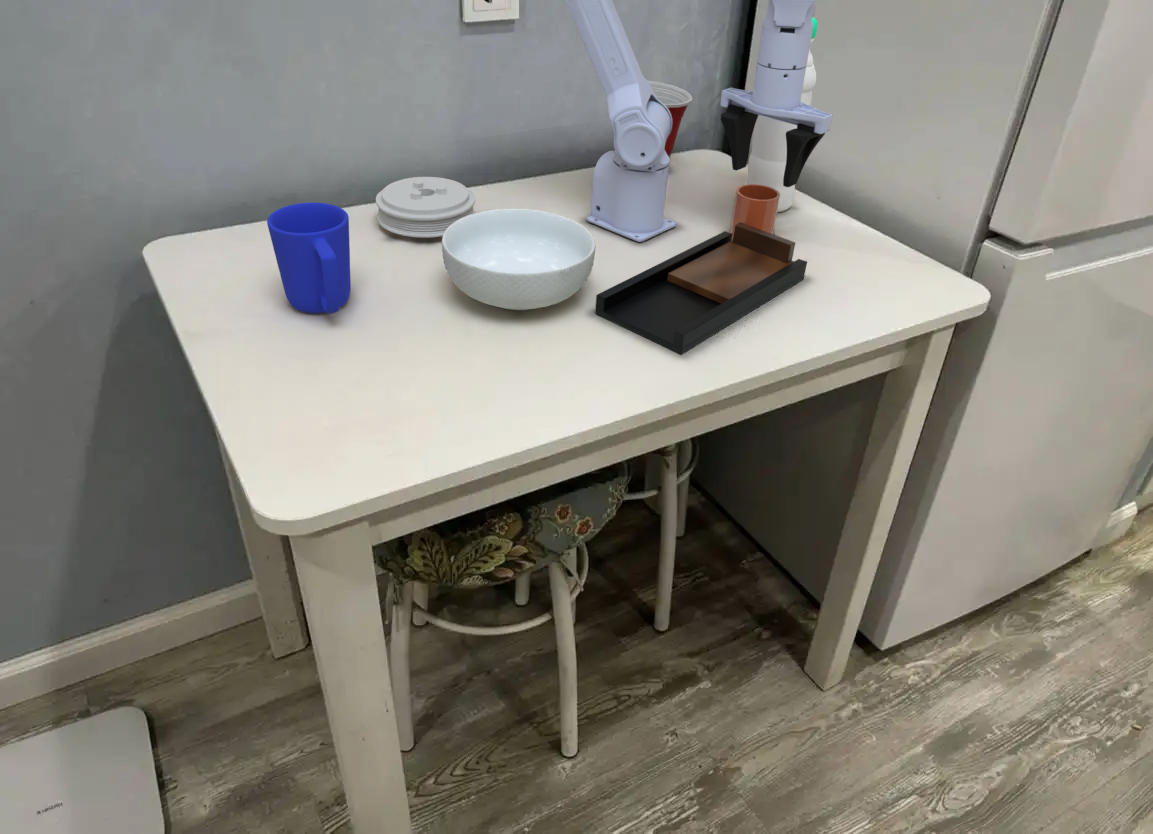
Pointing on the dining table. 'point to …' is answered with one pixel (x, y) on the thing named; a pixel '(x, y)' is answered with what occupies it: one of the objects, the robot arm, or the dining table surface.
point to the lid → (423, 206)
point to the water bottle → (777, 143)
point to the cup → (755, 207)
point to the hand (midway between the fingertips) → (764, 176)
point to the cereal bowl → (518, 257)
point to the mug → (312, 255)
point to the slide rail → (686, 301)
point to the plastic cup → (672, 107)
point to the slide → (735, 264)
